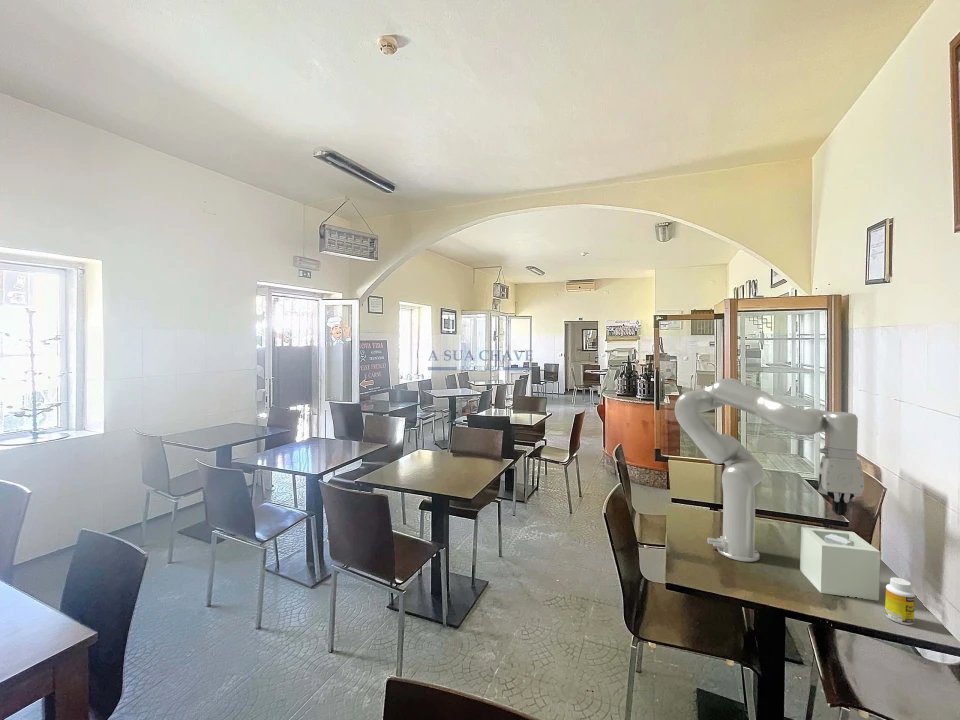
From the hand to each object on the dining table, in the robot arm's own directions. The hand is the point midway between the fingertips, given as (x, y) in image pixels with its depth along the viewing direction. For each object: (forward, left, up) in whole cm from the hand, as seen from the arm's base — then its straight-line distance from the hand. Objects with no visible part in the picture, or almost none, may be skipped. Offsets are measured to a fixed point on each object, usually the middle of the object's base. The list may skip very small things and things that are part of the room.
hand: (839, 514), depth 133 cm
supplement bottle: (+7, -16, -22) cm, 28 cm away
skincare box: (0, 0, -20) cm, 20 cm away
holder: (0, 0, -22) cm, 22 cm away
